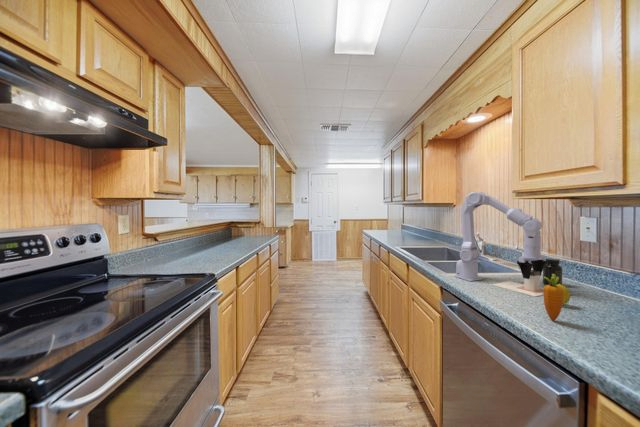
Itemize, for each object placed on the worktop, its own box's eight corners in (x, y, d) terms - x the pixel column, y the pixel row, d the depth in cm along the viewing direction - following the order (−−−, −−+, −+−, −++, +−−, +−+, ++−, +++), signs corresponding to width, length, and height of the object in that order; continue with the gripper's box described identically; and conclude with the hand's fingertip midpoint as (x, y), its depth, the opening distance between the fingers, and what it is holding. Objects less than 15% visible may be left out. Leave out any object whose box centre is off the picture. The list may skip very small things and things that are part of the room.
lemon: (574, 308, 96) (574, 286, 96) (558, 308, 96) (558, 286, 96) (560, 302, 101) (560, 281, 101) (545, 302, 102) (546, 281, 101)
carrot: (556, 325, 82) (556, 277, 82) (539, 318, 87) (539, 273, 87) (567, 323, 84) (568, 275, 83) (549, 316, 89) (550, 272, 88)
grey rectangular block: (523, 288, 117) (524, 270, 117) (529, 287, 119) (529, 269, 119) (534, 291, 114) (534, 272, 114) (539, 289, 115) (540, 271, 115)
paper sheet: (491, 285, 124) (491, 284, 124) (510, 281, 129) (510, 280, 129) (534, 297, 108) (534, 295, 108) (554, 292, 112) (554, 291, 112)
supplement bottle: (561, 284, 124) (561, 258, 124) (563, 288, 119) (563, 261, 119) (542, 282, 128) (542, 257, 128) (543, 285, 123) (543, 259, 123)
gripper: (531, 248, 109) (531, 281, 110) (553, 246, 115) (552, 277, 115) (513, 246, 116) (513, 277, 116) (534, 244, 121) (534, 274, 122)
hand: (531, 277), depth 116 cm, fingers open, 7 cm apart
